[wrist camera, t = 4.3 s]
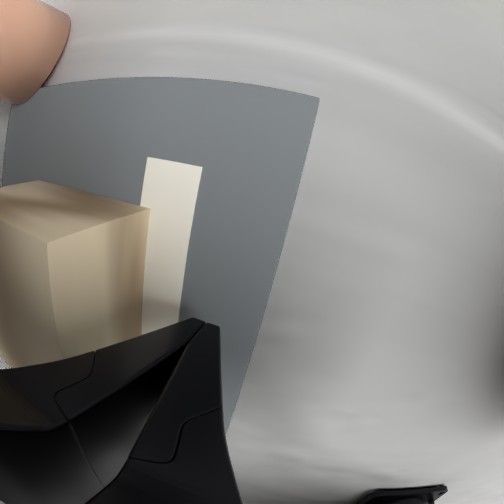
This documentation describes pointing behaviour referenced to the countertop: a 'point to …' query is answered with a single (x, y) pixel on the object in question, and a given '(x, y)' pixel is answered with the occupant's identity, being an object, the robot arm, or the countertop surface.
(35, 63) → the terracotta cylinder
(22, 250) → the maple block
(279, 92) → the letter mat
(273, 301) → the countertop surface
